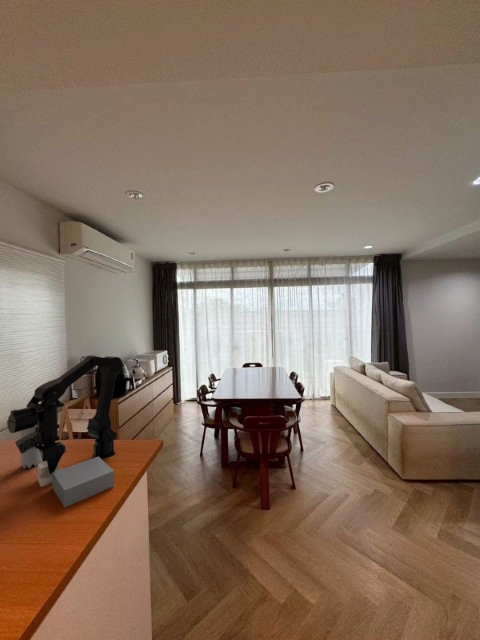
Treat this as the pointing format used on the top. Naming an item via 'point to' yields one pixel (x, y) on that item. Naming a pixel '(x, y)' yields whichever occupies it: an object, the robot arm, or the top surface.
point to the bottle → (30, 451)
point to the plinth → (82, 480)
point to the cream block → (45, 474)
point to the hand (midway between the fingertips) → (48, 468)
